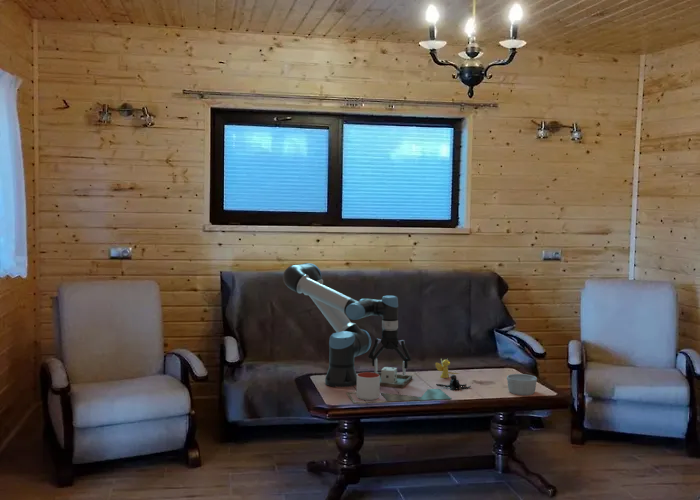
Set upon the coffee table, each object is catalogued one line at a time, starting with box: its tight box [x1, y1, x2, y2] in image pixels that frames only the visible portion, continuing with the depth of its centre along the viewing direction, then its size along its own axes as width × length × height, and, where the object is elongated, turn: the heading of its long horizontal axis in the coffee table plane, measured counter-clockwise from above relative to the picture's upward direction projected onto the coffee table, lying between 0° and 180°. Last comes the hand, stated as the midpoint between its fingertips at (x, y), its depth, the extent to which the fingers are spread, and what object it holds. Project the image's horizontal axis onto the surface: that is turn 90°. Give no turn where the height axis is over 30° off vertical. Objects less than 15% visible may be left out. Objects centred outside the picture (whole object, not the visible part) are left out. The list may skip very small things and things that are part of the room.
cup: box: [355, 371, 381, 401], centre depth 307 cm, size 10×10×10 cm
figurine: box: [434, 358, 460, 379], centre depth 344 cm, size 12×12×9 cm
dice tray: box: [377, 371, 413, 389], centre depth 334 cm, size 18×18×2 cm
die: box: [380, 366, 398, 383], centre depth 333 cm, size 6×6×6 cm
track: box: [345, 388, 452, 405], centre depth 310 cm, size 43×16×1 cm, turn 101°
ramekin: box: [506, 373, 538, 396], centre depth 320 cm, size 13×13×7 cm
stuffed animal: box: [436, 374, 472, 391], centre depth 327 cm, size 12×10×12 cm
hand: (389, 374), depth 333 cm, fingers open, 13 cm apart
